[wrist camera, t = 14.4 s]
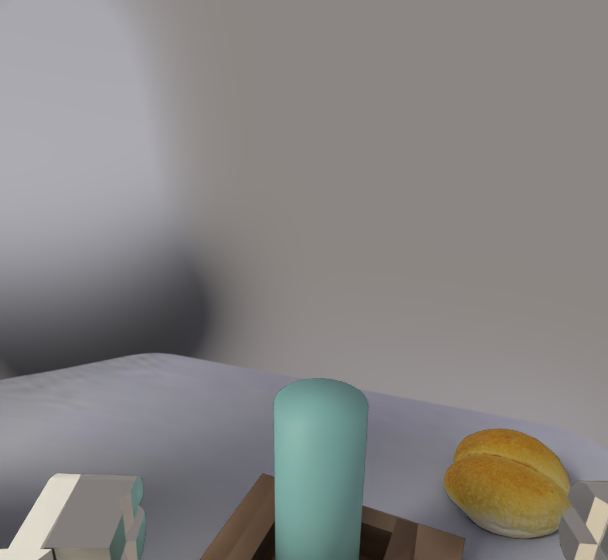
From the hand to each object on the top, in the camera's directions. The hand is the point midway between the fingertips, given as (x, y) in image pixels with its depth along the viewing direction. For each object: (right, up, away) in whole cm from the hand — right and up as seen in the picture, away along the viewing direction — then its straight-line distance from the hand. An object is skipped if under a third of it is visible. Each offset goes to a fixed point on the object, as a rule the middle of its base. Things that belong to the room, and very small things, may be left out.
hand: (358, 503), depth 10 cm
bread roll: (+14, -12, +28) cm, 33 cm away
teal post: (0, -13, +18) cm, 22 cm away
